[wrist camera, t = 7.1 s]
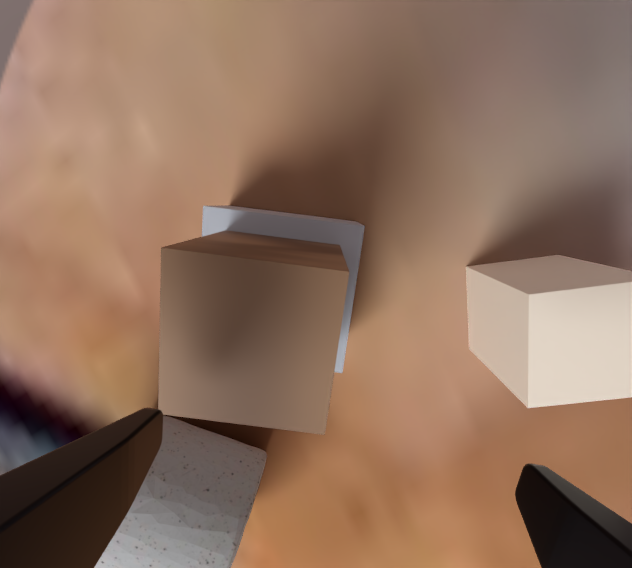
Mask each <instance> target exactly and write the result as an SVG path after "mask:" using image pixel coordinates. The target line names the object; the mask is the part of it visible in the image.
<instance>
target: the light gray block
mask: <svg viewBox="0 0 632 568" xmlns="http://www.w3.org/2000/svg"><path fill="white" fill-rule="evenodd" d="M364 228H365V226H364V225H362V224H360V223H358V222H357V221H349V220H341V219H333V218H325V217H317V216H309V215H301V214H293V213H285V212H277V211H269V210H261V209H253V208H245V207H237V206H229V205H228V206H203V224H202V237H203V236H207V235H210V234H214V233H218V232H221V231H225V230H228V231H236V232H243V233H251V234H259V235H267V236H274V237H282V238H290V239H298V240H305V241H313V242H321V243H329V244H337V245H340V247H341V250H342V253H343V255H344V258H345V261H346V264H347V266H348V269H349V279H348V285H347V292H346V298H345V305H344V311H343V318H342V325H341V331H340V338H339V344H338V351H337V358H336V364H335V371H334V372H338V373H342V372H343V365H344V359H345V352H346V346H347V339H348V333H349V326H350V320H351V313H352V307H353V300H354V294H355V287H356V281H357V274H358V267H359V261H360V254H361V248H362V241H363V235H364Z"/></svg>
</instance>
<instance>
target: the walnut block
mask: <svg viewBox="0 0 632 568" xmlns="http://www.w3.org/2000/svg"><path fill="white" fill-rule="evenodd" d="M348 279H349V269H348V266H347V264H346V261H345V258H344V255H343V253H342V250H341V247H340V245H337V244H329V243H321V242H313V241H305V240H298V239H290V238H282V237H274V236H267V235H259V234H251V233H243V232H236V231H228V230H225V231H221V232H218V233H214V234H210V235H207V236H203V237H199V238H195V239H192V240H188V241H184V242H180V243H177V244H173V245H169V246H165V247H162V248H161V285H160V340H159V394H158V409H159V410H161V411H162V412H163V415H171V416H179V417H187V418H195V419H203V420H210V421H218V422H226V423H234V424H242V425H250V426H258V427H266V428H274V429H282V430H290V431H298V432H306V433H313V434H321V435H325V430H326V423H327V417H328V410H329V404H330V397H331V390H332V384H333V377H334V371H335V364H336V358H337V351H338V344H339V338H340V331H341V325H342V318H343V311H344V305H345V298H346V292H347V285H348Z"/></svg>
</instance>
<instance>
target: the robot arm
mask: <svg viewBox="0 0 632 568" xmlns="http://www.w3.org/2000/svg"><path fill="white" fill-rule="evenodd" d="M162 435H163V412H162V411H161V410H159V409H152V408H144V409H141V410H139V411H137V412H135V413H133V414H131V415H128V416H126V417H124V418H122V419H120V420H118V421H116V422H114V423H111V424H109V425H107V426H105V427H103V428H101V429H99V430H96V431H94V432H92V433H90V434H88V435H86V436H84V437H82V438H79V439H77V440H75V441H73V442H71V443H69V444H67V445H64V446H62V447H60V448H58V449H56V450H54V451H52V452H49V453H47V454H45V455H43V456H41V457H39V458H37V459H35V460H32V461H30V462H28V463H26V464H24V465H22V466H20V467H17V468H15V469H13V470H11V471H9V472H7V473H5V474H2V475H0V568H94V567H95V566H96V564H97V562H98V561H99V559H100V557H101V556H102V554H103V553H104V551H105V549H106V548H107V546H108V544H109V543H110V541H111V540H112V538H113V536H114V535H115V533H116V531H117V530H118V528H119V527H120V525H121V523H122V522H123V520H124V518H125V517H126V515H127V513H128V511H129V509H130V508H131V506H132V504H133V502H134V500H135V498H136V496H137V494H138V492H139V490H140V488H141V486H142V484H143V482H144V480H145V477H146V475H147V473H148V471H149V469H150V467H151V465H152V463H153V461H154V459H155V457H156V455H157V453H158V451H159V449H160V446H161V443H162ZM515 496H516V501H517V504H518V507H519V510H520V512H521V515H522V518H523V520H524V523H525V525H526V528H527V531H528V533H529V536H530V539H531V541H532V544H533V547H534V549H535V552H536V554H537V557H538V560H539V562H540V565H541V567H542V568H632V524H631V523H630V522H628V521H627V520H625V519H624V518H622V517H621V516H619V515H618V514H616V513H615V512H613V511H612V510H610V509H609V508H607V507H606V506H604V505H603V504H601V503H600V502H598V501H597V500H595V499H594V498H592V497H591V496H589V495H588V494H586V493H585V492H583V491H582V490H580V489H579V488H577V487H576V486H574V485H573V484H571V483H570V482H568V481H567V480H565V479H564V478H562V477H561V476H559V475H558V474H556V473H555V472H553V471H552V470H550V469H549V468H547V467H545V466H543V465H536V464H526V465H525V466H524V467H523V470H522V473H521V476H520V478H519V481H518V484H517V487H516V492H515Z"/></svg>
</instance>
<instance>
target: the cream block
mask: <svg viewBox="0 0 632 568" xmlns="http://www.w3.org/2000/svg"><path fill="white" fill-rule="evenodd" d="M466 281H467V307H468V334H469V349H470V350H471V351H472V352H473V353H474V354H475V355H476V356H477V357H478V358H479V359H480V360H481V361H482V362H483V363H484V364H485V365H486V366H487V367H488V368H489V369H490V370H491V371H492V372H493V373H494V374H495V375H496V376H497V377H498V378H499V379H500V380H501V381H502V382H503V383H504V384H505V385H506V386H507V387H508V388H509V390H510V391H511V392H512V393H513V394H514V395H515V396H516V397H517V398H518V399H519V400H520V401H521V402H522V403H523V404H524V405H525V406H526V407H527V408H534V407H543V406H553V405H562V404H572V403H581V402H591V401H600V400H610V399H619V398H629V397H632V271H630V270H625V269H621V268H616V267H611V266H607V265H602V264H598V263H593V262H589V261H584V260H580V259H575V258H571V257H566V256H562V255H552V256H544V257H536V258H529V259H521V260H513V261H505V262H498V263H490V264H482V265H474V266H466Z"/></svg>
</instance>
